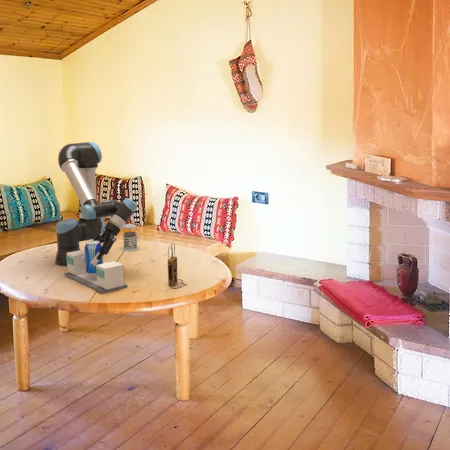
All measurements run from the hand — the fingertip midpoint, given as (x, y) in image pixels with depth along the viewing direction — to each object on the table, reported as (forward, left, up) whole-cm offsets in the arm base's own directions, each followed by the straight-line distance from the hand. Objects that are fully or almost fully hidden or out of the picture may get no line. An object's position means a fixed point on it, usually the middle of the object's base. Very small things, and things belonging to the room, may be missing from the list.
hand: (88, 262), depth 319 cm
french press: (-60, +24, -11) cm, 65 cm away
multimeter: (+12, +44, -11) cm, 47 cm away
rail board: (-2, +3, -10) cm, 11 cm away
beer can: (-2, +3, -6) cm, 7 cm away
